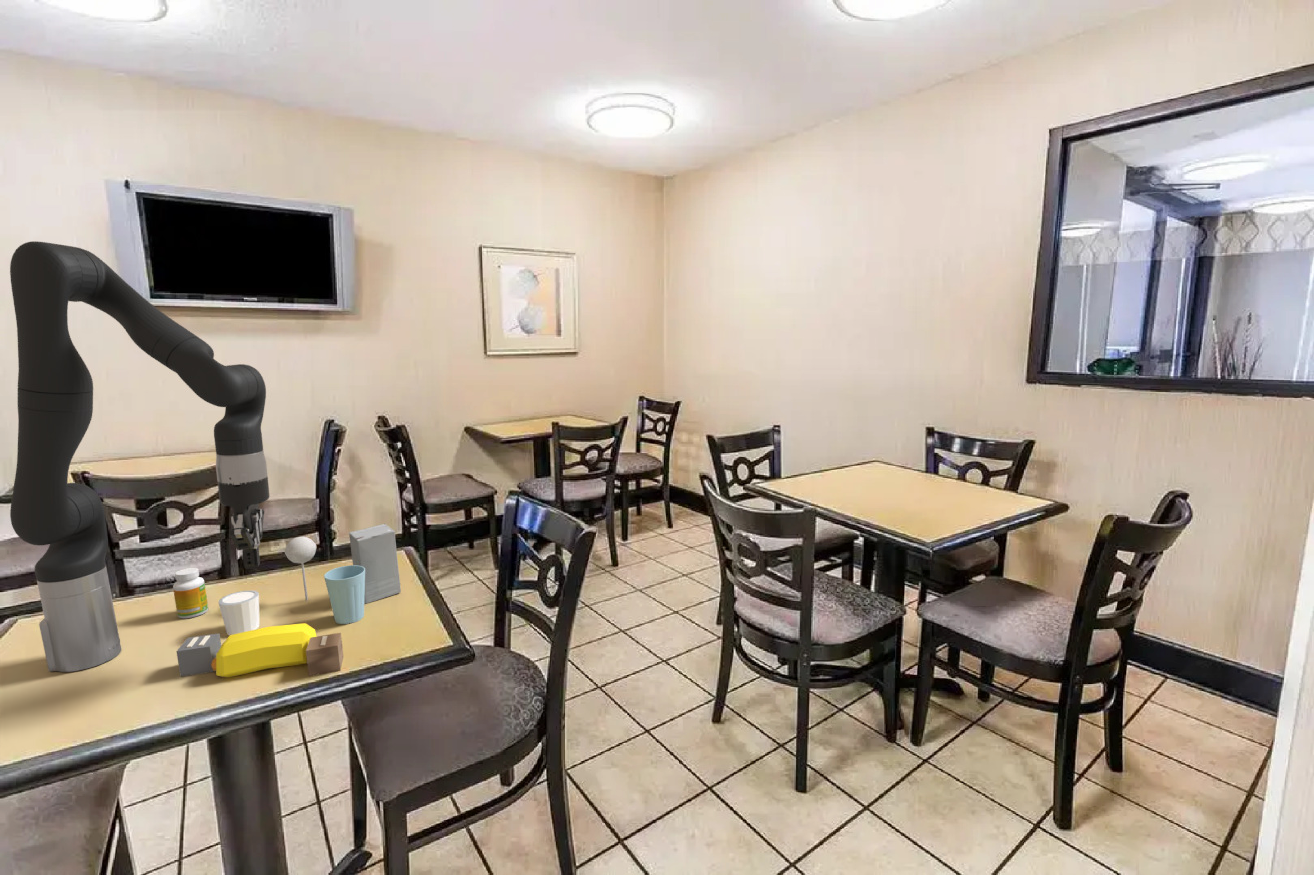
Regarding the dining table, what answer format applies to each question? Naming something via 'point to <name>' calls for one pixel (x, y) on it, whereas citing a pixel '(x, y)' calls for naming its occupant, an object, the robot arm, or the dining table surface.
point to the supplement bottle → (190, 593)
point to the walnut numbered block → (324, 654)
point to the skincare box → (376, 561)
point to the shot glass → (240, 611)
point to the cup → (346, 593)
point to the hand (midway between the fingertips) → (252, 567)
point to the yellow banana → (263, 649)
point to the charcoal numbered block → (198, 654)
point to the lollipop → (301, 554)
